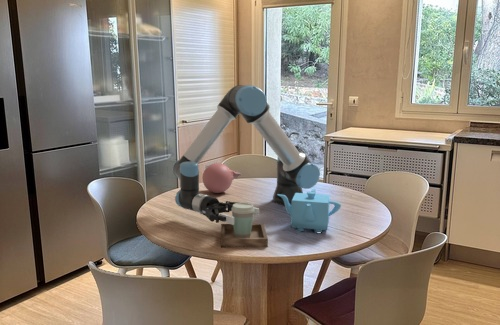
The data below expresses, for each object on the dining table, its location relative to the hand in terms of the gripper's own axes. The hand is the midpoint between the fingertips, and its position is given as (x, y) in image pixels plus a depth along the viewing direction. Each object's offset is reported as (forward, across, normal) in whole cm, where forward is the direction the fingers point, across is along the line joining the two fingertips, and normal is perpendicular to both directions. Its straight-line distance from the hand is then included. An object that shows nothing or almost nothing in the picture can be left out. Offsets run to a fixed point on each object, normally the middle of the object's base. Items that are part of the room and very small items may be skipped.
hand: (246, 216), depth 159 cm
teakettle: (+9, -26, -9) cm, 29 cm away
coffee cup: (-2, 0, -8) cm, 8 cm away
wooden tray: (-2, 0, -9) cm, 9 cm away
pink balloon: (-54, -41, -9) cm, 68 cm away
